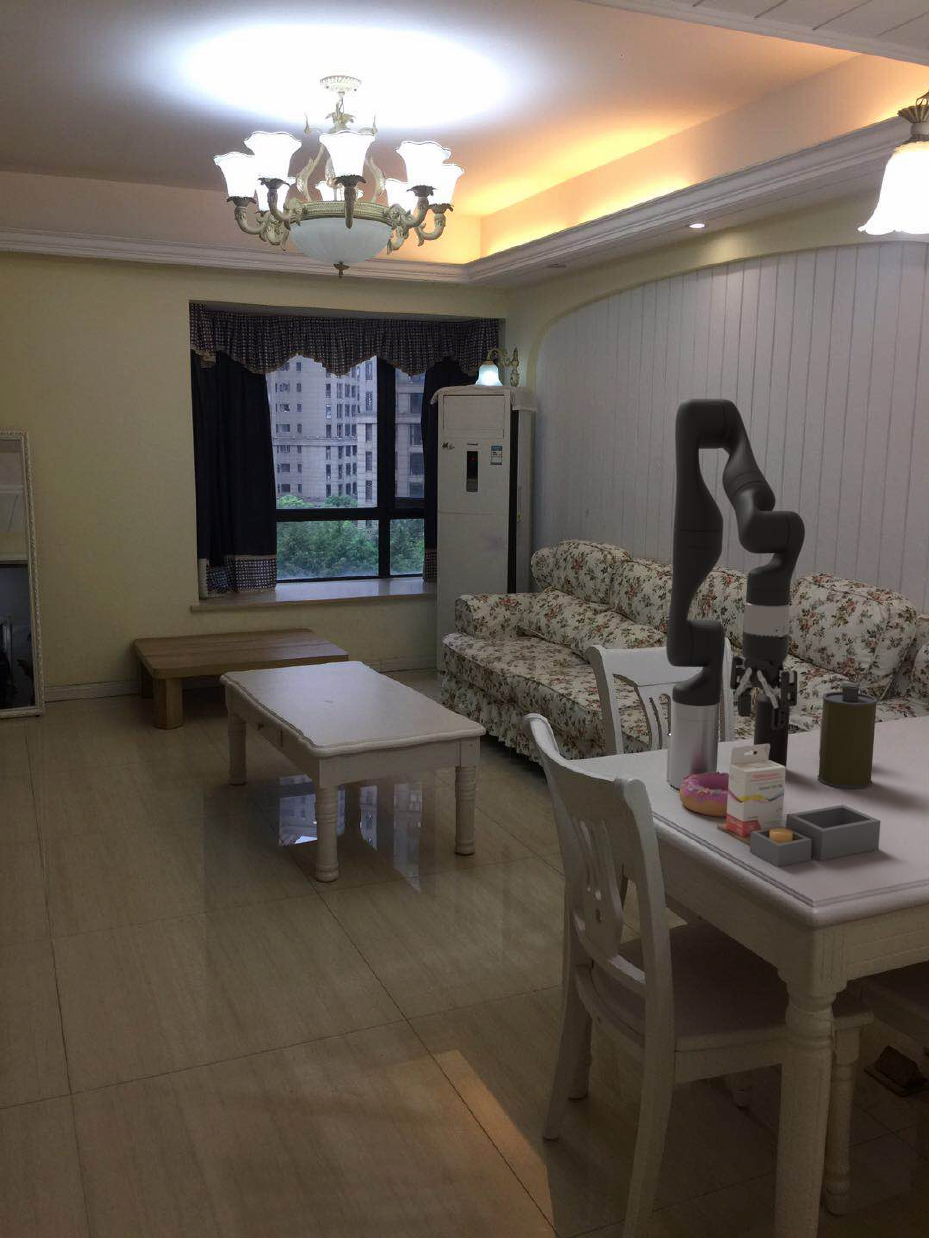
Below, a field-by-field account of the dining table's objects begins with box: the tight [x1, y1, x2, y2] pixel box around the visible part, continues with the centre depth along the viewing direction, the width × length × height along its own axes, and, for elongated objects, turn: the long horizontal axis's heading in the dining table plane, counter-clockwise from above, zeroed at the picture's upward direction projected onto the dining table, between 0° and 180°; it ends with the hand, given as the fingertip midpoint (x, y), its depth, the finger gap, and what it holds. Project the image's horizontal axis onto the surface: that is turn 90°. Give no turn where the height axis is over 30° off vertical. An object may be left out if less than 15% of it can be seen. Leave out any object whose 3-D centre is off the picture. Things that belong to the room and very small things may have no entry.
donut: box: [679, 771, 729, 818], centre depth 194 cm, size 14×14×5 cm
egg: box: [769, 828, 793, 843], centre depth 170 cm, size 4×4×4 cm
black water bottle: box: [752, 686, 791, 768], centre depth 215 cm, size 7×7×20 cm
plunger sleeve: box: [749, 825, 812, 868], centre depth 170 cm, size 7×7×4 cm
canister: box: [817, 682, 879, 790], centre depth 208 cm, size 11×10×20 cm
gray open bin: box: [785, 804, 881, 862], centre depth 174 cm, size 8×12×5 cm
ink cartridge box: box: [725, 744, 787, 837], centre depth 179 cm, size 9×5×15 cm, turn 113°
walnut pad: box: [716, 822, 751, 846], centre depth 181 cm, size 9×9×1 cm
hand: (760, 722), depth 177 cm, fingers open, 8 cm apart
